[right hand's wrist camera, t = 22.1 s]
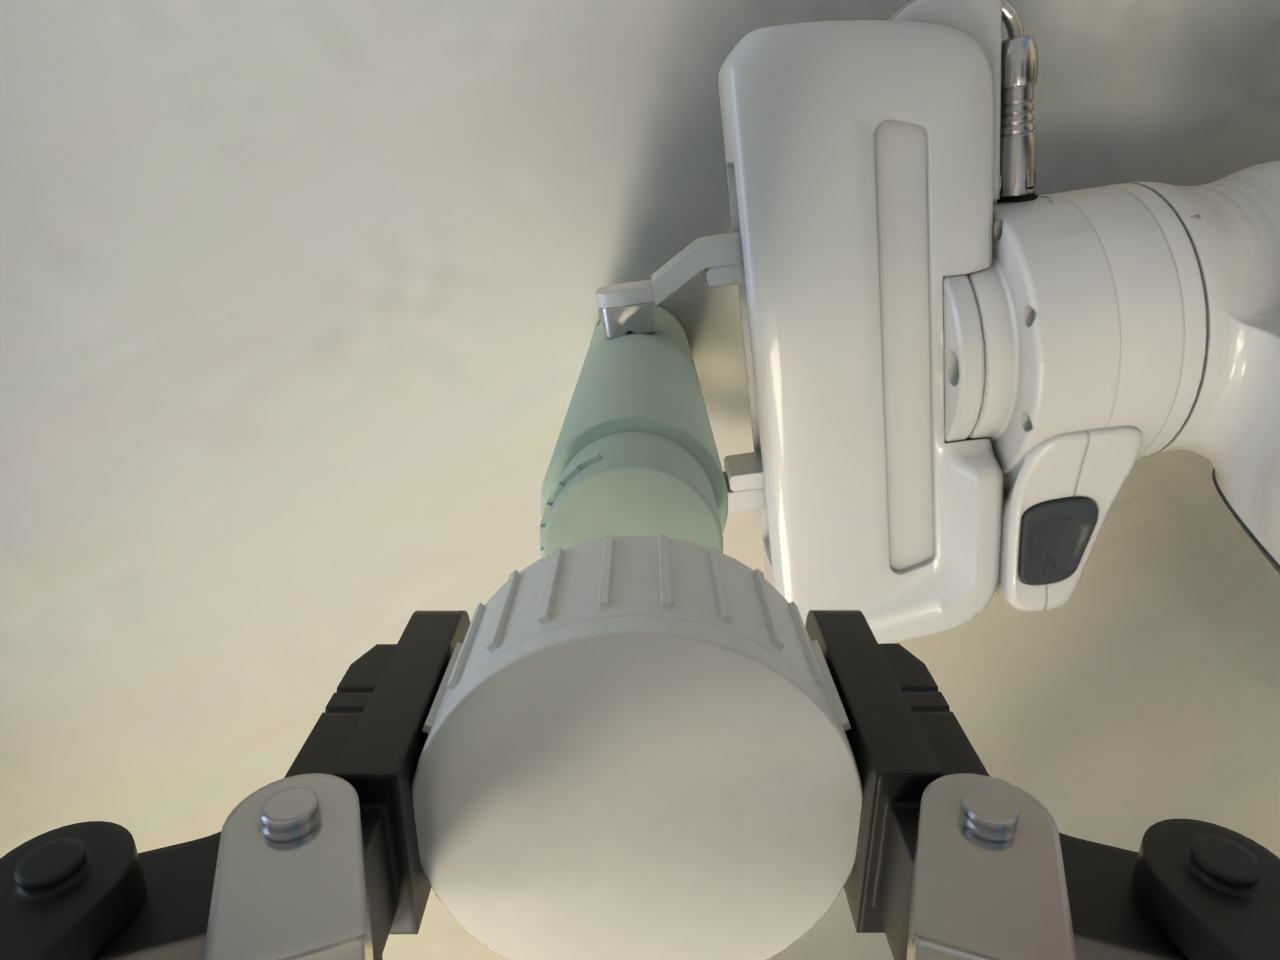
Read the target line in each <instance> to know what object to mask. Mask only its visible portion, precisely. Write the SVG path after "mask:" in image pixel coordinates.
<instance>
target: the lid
mask: <svg viewBox="0 0 1280 960" xmlns="http://www.w3.org/2000/svg"><path fill="white" fill-rule="evenodd" d="M849 729H851V726H850V723H849V721H848V718H847V715H846V713H845V710H844V708H843V705H842V702H841V700H840V697H839V694H838V692H837V689H836V687H835V684H834V681H833V679H832V676H831V674H830V671H829V668H828V666H827V663H826V661H825V658H824V655H823V653H822V650H821V647H820V645H819V642H818V640H815V641H811V639H810V637H809V635H808V633H807V631H806V628H805V625H804V623H803V620H802V617H801V614H800V612H799V609H798V606H797V605H796V604H795V602H794V601H792V602H791V603H789V602H788V601H787V600H786V599H785V598H784V597H783V596H782V595H781V594H780V593H779V592H778V591H777V590H776V589H775V587H774V586H772V585H771V584H770V583H769V582H768V581H766V580H765V578H764V575H763V572H761V571H760V570H758V569H756V570H755V571H754V570H752V569H750V568H749V567H747V566H745V565H744V564H742V563H740V562H739V561H737V560H736V559H734V558H732V557H729V556H727V555H725V554H723V553H720V552H719V549H718V548H716V547H714V546H710V548H708V547H705V546H701V545H698V544H695V543H692V542H688V541H684V540H678V539H672V538H667V535H662V534H659V535H658V536H640V535H633V536H618V537H614V536H613V535H605V538H603V539H597V540H592V541H587V542H583V543H580V544H577V545H574V546H571V547H568V548H564V549H562V547H559V548H556V549H554V551H553V554H550V555H548V556H546V557H544V558H542V559H540V560H538V561H536V562H535V563H533V564H531V565H530V566H528V567H527V568H525V569H524V570H522V571H520V572H519V573H518V572H517V571H514V572H513V573H511V574H510V576H509V579H508V582H507V583H506V584H504V585H503V586H502V587H501V588H500V589H499V590H498V591H497V592H496V593H495V594H494V595H493V596H492V598H491V599H490V600H489V601H488V602H487V603H486V604H485V605H483V604H481V603H480V604H479V605H478V607H477V608H476V610H475V613H474V615H473V618H472V621H471V623H470V626H469V629H468V631H467V634H466V636H465V639H464V642H463V644H462V643H459V642H457V644H456V646H455V649H454V651H453V654H452V656H451V659H450V661H449V664H448V666H447V669H446V671H445V674H444V676H443V679H442V681H441V684H440V686H439V689H438V691H437V694H436V697H435V699H434V702H433V704H432V707H431V709H430V712H429V714H428V717H427V719H426V722H425V724H424V727H423V730H422V731H423V732H425V733H428V737H427V740H426V742H425V744H424V747H423V750H422V752H421V755H420V757H419V761H418V764H417V768H416V771H415V775H414V778H413V782H412V796H413V806H414V815H415V823H416V831H417V840H418V848H419V856H420V862H421V867H422V869H423V872H424V874H425V877H426V878H427V880H428V882H429V884H430V885H431V887H432V889H433V891H434V892H435V894H436V896H437V897H438V899H439V900H440V901H441V902H442V904H443V905H444V906H445V908H446V909H447V910H448V911H449V913H450V914H451V915H452V916H453V917H454V918H455V919H456V920H457V921H458V922H459V923H460V924H461V925H462V926H463V927H464V928H465V929H466V930H467V931H468V932H469V933H470V934H471V935H472V936H474V937H475V938H476V939H478V940H479V941H480V942H482V943H483V944H484V945H485V946H487V947H488V948H489V949H491V950H493V951H494V952H496V953H498V954H499V955H501V956H503V957H504V958H506V959H507V960H768V959H769V958H771V957H773V956H774V955H776V954H778V953H779V952H781V951H782V950H784V949H786V948H787V947H789V946H790V945H791V944H792V943H794V942H795V941H796V940H797V939H799V938H800V937H801V936H802V935H804V934H805V933H806V932H807V931H808V930H809V929H810V928H811V927H812V926H813V925H814V924H815V923H816V922H817V921H818V920H819V919H820V918H821V917H822V916H823V915H824V914H825V913H826V911H827V910H828V909H829V907H830V906H831V905H832V903H833V902H834V901H835V899H836V898H837V897H838V895H839V894H840V892H841V890H842V888H843V887H844V885H845V883H846V881H847V879H848V877H849V876H850V874H851V871H852V868H853V866H854V863H855V857H856V849H857V841H858V832H859V824H860V815H861V806H862V783H861V777H860V774H859V771H858V768H857V764H856V761H855V758H854V755H853V752H852V750H851V747H850V744H849V741H848V739H847V736H846V733H845V731H846V730H849Z"/></svg>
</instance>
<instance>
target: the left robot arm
mask: <svg viewBox="0 0 1280 960" xmlns="http://www.w3.org/2000/svg"><path fill="white" fill-rule="evenodd" d="M1002 21H1003V22H1004V24H1005V27H1006V29H1007V33H1008V37H1009V39H1007V40H1004V41H1002ZM1037 76H1038V52H1037V45H1036V41H1035V37H1034V36H1032V35H1030V36H1024V31H1023V26H1022V23H1021V20H1020V17H1019V15H1018V13H1017V11H1016V9H1015V8H1014V7H1013V5H1012V4H1011V3H1010V2H1009V1H1008V0H909V1H907V2H905V3H904V4H903V5H901V6H900V7H899V8H897V9H896V10H895V11H894V12H893V13H892V15H891V16H890V17H889V18H888V19H887V20H833V21H817V22H804V23H793V24H783V25H775V26H769V27H763V28H759V29H756V30H754V31H751V32H750V33H748V34H746V35H745V36H744V37H743V38H742V39H741V40H740V41H739V42H738V43H737V44H736V45H735V47H734V48H733V49H732V51H731V52H730V53H729V55H728V56H727V58H726V59H725V61H724V63H723V65H722V67H721V68H720V71H719V76H718V84H719V95H720V106H721V116H722V126H723V137H724V147H725V157H726V168H727V178H728V188H729V198H730V209H731V219H732V229H733V232H731V233H725V234H718V235H712V236H705V237H699V238H697V239H695V240H694V241H693V242H692V243H691V244H689V245H688V246H687V247H686V248H684V249H683V250H682V251H681V252H679V253H678V254H677V255H676V256H674V257H673V258H672V259H671V260H669V261H668V262H667V263H666V264H664V265H663V266H662V267H661V268H659V269H658V270H657V271H656V272H654V273H653V274H652V275H651V279H647V280H641V281H634V282H627V283H620V284H613V285H608V286H604V287H601V288H598V290H597V292H596V294H597V301H598V308H599V314H600V319H601V325H602V331H603V336H604V337H605V338H616V337H620V336H624V335H625V334H626V333H627V332H629V331H631V332H633V333H635V334H645V333H652V332H657V322H656V313H655V306H657V305H658V304H660V303H661V302H662V301H664V300H665V299H666V298H668V297H669V296H670V295H671V294H673V293H674V292H675V291H677V290H678V289H679V288H681V287H682V286H683V285H684V284H686V283H687V282H688V281H690V280H691V279H692V278H694V277H695V276H696V275H697V274H699V273H700V272H701V271H703V277H704V278H705V280H706V282H707V284H708V285H709V286H711V287H718V286H726V285H734V284H738V291H739V301H740V312H741V322H742V332H743V343H744V353H745V363H746V374H747V384H748V394H749V404H750V415H751V425H752V435H753V446H754V452H751V453H744V454H738V455H731V456H726V457H725V458H724V468H725V472H723V474H724V478H725V482H726V486H727V492H728V512H729V513H731V514H734V513H742V512H750V511H758V510H760V518H761V528H762V538H763V549H764V559H765V569H766V579H767V581H768V582H769V583H770V584H771V585H772V586H774V587H775V589H776V590H777V591H778V592H779V593H780V594H781V595H782V596H783V597H784V598H785V599H786V600H787V601H788V602H789V603H791V602H792V601H794V602H795V604H796V605H797V606H798V609H799V612H800V614H801V617H802V620H803V623H804V625H805V626H806V618H807V615H808V612H809V611H810V610H860V611H861V612H862V613H863V615H864V617H865V619H866V621H867V623H868V625H869V627H870V629H871V631H872V633H873V635H874V636H875V638H876V640H877V642H878V644H888V643H894V642H899V641H905V640H910V639H914V638H919V637H924V636H928V635H932V634H936V633H940V632H944V631H947V630H950V629H953V628H955V627H958V626H960V625H962V624H964V623H966V622H968V621H970V620H971V619H973V618H974V617H975V616H977V615H978V614H979V613H980V612H981V611H982V610H983V609H984V608H985V607H986V606H987V605H988V603H989V602H990V600H991V598H992V597H993V595H994V592H995V591H996V593H997V594H998V595H1000V596H1001V597H1002V598H1003V599H1004V600H1005V601H1006V602H1007V603H1008V604H1009V605H1011V606H1012V607H1013V608H1015V609H1017V610H1020V611H1043V610H1049V609H1053V608H1056V607H1059V606H1061V605H1063V604H1064V603H1065V602H1066V601H1067V600H1068V599H1069V598H1070V597H1071V595H1072V594H1073V592H1074V590H1075V589H1076V586H1077V584H1078V582H1079V580H1080V577H1081V575H1082V572H1083V570H1084V567H1085V565H1086V562H1087V560H1088V557H1089V555H1090V552H1091V550H1092V548H1093V545H1094V543H1095V541H1096V538H1097V536H1098V534H1099V531H1100V529H1101V527H1102V525H1103V522H1104V520H1105V518H1106V516H1107V514H1108V512H1109V510H1110V508H1111V506H1112V504H1113V502H1114V500H1115V498H1116V496H1117V494H1118V492H1119V490H1120V488H1121V486H1122V485H1123V483H1124V481H1125V479H1126V478H1127V476H1128V474H1129V472H1130V471H1131V469H1132V467H1133V466H1134V464H1135V462H1136V459H1137V458H1144V457H1148V456H1152V455H1155V454H1159V453H1162V452H1167V451H1171V450H1187V451H1191V452H1194V453H1197V454H1199V455H1201V456H1203V457H1204V458H1206V459H1207V460H1208V461H1209V462H1210V463H1211V464H1212V465H1213V467H1214V469H1213V473H1212V477H1213V481H1214V484H1215V487H1216V489H1217V491H1218V493H1219V494H1220V496H1221V498H1222V499H1223V501H1224V502H1225V504H1226V505H1227V507H1228V508H1229V510H1230V511H1231V512H1232V514H1233V515H1234V517H1235V518H1236V519H1237V521H1238V522H1239V523H1240V525H1241V526H1242V528H1243V529H1244V530H1245V532H1246V533H1247V534H1248V536H1249V537H1250V538H1251V539H1252V541H1253V542H1254V543H1255V545H1256V546H1257V547H1258V548H1259V550H1260V551H1261V552H1262V553H1263V555H1264V556H1265V557H1266V558H1267V560H1268V561H1269V562H1270V563H1271V565H1272V566H1273V567H1274V568H1275V569H1276V571H1277V572H1278V573H1279V574H1280V160H1278V161H1272V162H1266V163H1262V164H1258V165H1254V166H1251V167H1248V168H1245V169H1242V170H1240V171H1237V172H1235V173H1233V174H1230V175H1228V176H1226V177H1224V178H1222V179H1219V180H1217V181H1214V182H1211V183H1207V184H1203V185H1197V186H1178V185H1171V184H1165V183H1160V182H1127V183H1122V184H1114V185H1107V186H1100V187H1094V188H1087V189H1080V190H1073V191H1066V192H1059V193H1052V194H1044V195H1035V155H1036V140H1035V132H1034V130H1035V125H1034V123H1033V120H1034V115H1033V113H1032V110H1033V103H1032V101H1033V96H1034V84H1036V82H1037ZM993 200H997V202H994V203H993ZM654 304H655V305H654Z"/></svg>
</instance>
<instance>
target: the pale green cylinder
mask: <svg viewBox="0 0 1280 960" xmlns="http://www.w3.org/2000/svg"><path fill="white" fill-rule="evenodd" d="M655 313H656V322H657V332H652V333H645V334H635V333H633V332H631V331H629V332H627V333H626V334H625V335H624V336H620V337H616V338H605V337H604V336H603V331H602V325H601V322H600V323H599V325H598V326H597V328H596V330H595V332H594V334H593V337H592V340H591V343H590V346H589V349H588V352H587V355H586V358H585V361H584V364H583V367H582V370H581V373H580V376H579V379H578V382H577V384H576V387H575V390H574V393H573V396H572V399H571V402H570V405H569V408H568V411H567V414H566V417H565V420H564V423H563V426H562V429H561V432H560V435H559V438H558V441H557V444H556V446H555V449H554V452H553V455H552V458H551V461H550V464H549V467H548V470H547V473H546V476H545V479H544V483H543V488H542V495H541V509H542V517H543V518H542V521H541V525H540V544H541V550H540V551H541V554H542V557H543V558H544V557H546V556H548V555H550V554H553V551H554V549H556V548H559V547H562V549H564V548H568V547H571V546H574V545H577V544H580V543H583V542H587V541H592V540H597V539H603V538H605V535H613V536H614V537H618V536H633V535H640V536H658V535H659V534H662V535H667V538H672V539H678V540H684V541H688V542H692V543H695V544H698V545H701V546H705V547H708V548H710V546H714V547H716V548H718V549H719V552H720V553H723V535H722V533H723V530H724V527H725V524H726V520H727V513H728V492H727V486H726V482H725V478H724V474H723V471H722V467H721V463H720V459H719V456H718V452H717V448H716V444H715V441H714V437H713V433H712V429H711V426H710V422H709V418H708V414H707V411H706V407H705V403H704V399H703V396H702V392H701V388H700V384H699V381H698V377H697V373H696V369H695V366H694V362H693V358H692V354H691V350H690V347H689V343H688V339H687V336H686V333H685V331H684V329H683V327H682V326H681V324H680V323H679V321H678V320H677V319H676V318H675V317H674V316H673V315H672V314H671V313H669V312H668V311H667V310H665V309H663V308H661V307H659V306H655Z"/></svg>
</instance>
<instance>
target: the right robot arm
mask: <svg viewBox="0 0 1280 960" xmlns="http://www.w3.org/2000/svg"><path fill="white" fill-rule="evenodd" d="M469 626H470V620H469V616H468V613H467V612H466V611H415V612H414V613H413V615H412V617H411V619H410V620H409V622H408V624H407V626H406V628H405V630H404V632H403V634H402V636H401V638H400V640H399V642H398V644H377V645H376V646H374V647H373V648H372V649H371V650H369V651H368V652H367V653H365V654H364V655H363V656H361V657H360V658H359V659H358V660H356V661H355V662H354V663H352V664H351V665H350V667H349V669H348V670H347V672H346V674H345V675H344V677H343V679H342V681H341V682H340V684H339V686H338V687H337V693H334V694H333V696H332V698H331V699H330V701H329V703H328V704H327V706H326V711H325V713H322V715H321V716H320V718H319V720H318V721H317V723H316V725H315V726H314V728H313V730H312V732H311V733H310V735H309V737H308V738H307V740H306V742H305V744H304V745H303V747H302V749H301V750H300V752H299V754H298V755H297V757H296V759H295V761H294V762H293V764H292V766H291V767H290V769H289V771H288V772H287V774H286V776H285V778H284V779H280V780H278V781H275V782H273V783H270V784H268V785H266V786H264V787H262V788H260V789H259V790H257V791H255V792H254V793H252V794H251V795H249V796H248V797H247V798H245V799H244V800H243V801H242V802H240V803H239V804H238V805H237V806H236V807H235V808H234V809H233V811H232V812H231V813H230V815H229V816H228V817H227V819H226V821H225V823H224V825H223V828H222V831H221V832H219V833H216V834H213V835H211V836H208V837H204V838H201V839H197V840H194V841H190V842H185V843H181V844H177V845H173V846H168V847H164V848H160V849H155V850H151V851H147V852H143V853H137V849H136V846H135V842H134V839H133V837H132V835H131V833H130V832H129V831H128V830H127V829H125V828H124V827H122V826H120V825H118V824H114V823H111V822H103V821H94V822H83V823H76V824H72V825H68V826H64V827H61V828H58V829H55V830H52V831H49V832H47V833H44V834H42V835H39V836H37V837H35V838H33V839H31V840H29V841H27V842H25V843H23V844H22V845H20V846H18V847H17V848H15V849H13V850H12V851H10V852H9V853H8V854H6V855H5V856H3V857H2V858H1V859H0V960H383V957H382V953H383V950H384V947H385V944H386V941H387V938H388V935H389V934H418V931H419V927H420V924H421V921H422V917H423V914H424V910H425V907H426V903H427V900H428V897H429V893H430V890H431V885H430V884H429V882H428V880H427V878H426V877H425V874H424V872H423V869H422V867H421V862H420V856H419V848H418V840H417V831H416V823H415V815H414V806H413V796H412V782H413V778H414V775H415V771H416V768H417V764H418V761H419V757H420V755H421V752H422V750H423V747H424V744H425V742H426V740H427V737H428V733H425V732H423V731H422V730H423V727H424V724H425V722H426V719H427V717H428V714H429V712H430V709H431V707H432V704H433V702H434V699H435V697H436V694H437V691H438V689H439V686H440V684H441V681H442V679H443V676H444V674H445V671H446V669H447V666H448V664H449V661H450V659H451V656H452V654H453V651H454V649H455V646H456V644H457V642H459V643H462V644H463V642H464V639H465V636H466V634H467V631H468V629H469ZM805 628H806V631H807V633H808V635H809V637H810V639H811V641H815V640H818V642H819V645H820V647H821V650H822V653H823V655H824V658H825V661H826V663H827V666H828V668H829V671H830V674H831V676H832V679H833V681H834V684H835V687H836V689H837V692H838V694H839V697H840V700H841V702H842V705H843V708H844V710H845V713H846V715H847V718H848V721H849V723H850V726H851V729H849V730H846V731H845V733H846V736H847V739H848V741H849V744H850V747H851V750H852V752H853V755H854V758H855V761H856V764H857V768H858V771H859V774H860V777H861V783H862V806H861V815H860V824H859V832H858V841H857V849H856V857H855V863H854V866H853V868H852V871H851V874H850V876H849V877H848V879H847V881H846V883H845V885H844V889H845V892H846V896H847V899H848V903H849V906H850V910H851V913H852V917H853V920H854V924H855V927H856V931H857V933H886V936H887V939H888V942H889V945H890V948H891V952H892V955H893V958H894V960H1280V859H1279V858H1278V857H1277V856H1276V855H1274V854H1273V853H1271V852H1270V851H1269V850H1267V849H1266V848H1264V847H1263V846H1261V845H1259V844H1258V843H1256V842H1255V841H1253V840H1251V839H1249V838H1247V837H1245V836H1243V835H1241V834H1239V833H1237V832H1234V831H1232V830H1229V829H1227V828H1224V827H1221V826H1218V825H1215V824H1212V823H1207V822H1203V821H1198V820H1191V819H1170V820H1164V821H1161V822H1157V823H1156V824H1154V825H1152V826H1151V827H1150V828H1149V829H1148V830H1147V831H1146V832H1145V834H1144V837H1143V840H1142V843H1141V847H1140V851H1139V853H1137V852H1133V851H1129V850H1124V849H1120V848H1116V847H1112V846H1107V845H1103V844H1099V843H1095V842H1090V841H1086V840H1082V839H1078V838H1074V837H1071V836H1067V835H1064V834H1062V833H1059V832H1058V828H1057V825H1056V823H1055V821H1054V819H1053V817H1052V816H1051V815H1050V813H1049V812H1048V811H1047V809H1046V808H1045V807H1044V806H1043V805H1042V804H1041V803H1040V802H1038V801H1037V800H1036V799H1035V798H1033V797H1032V796H1031V795H1029V794H1028V793H1026V792H1025V791H1023V790H1021V789H1020V788H1018V787H1016V786H1014V785H1012V784H1010V783H1007V782H1005V781H1002V780H1000V779H996V778H993V777H990V776H989V774H988V773H987V771H986V769H985V767H984V766H983V764H982V762H981V761H980V759H979V757H978V755H977V754H976V752H975V750H974V748H973V747H972V745H971V743H970V742H969V740H968V738H967V736H966V735H965V733H964V731H963V729H962V728H961V726H960V724H959V723H958V721H957V719H956V717H955V716H954V714H953V712H950V711H949V705H948V704H947V702H946V700H945V698H944V697H943V695H942V693H941V692H938V686H937V685H936V683H935V681H934V679H933V678H932V676H931V674H930V672H929V671H928V669H927V667H926V666H925V664H924V663H923V662H922V661H920V660H919V659H918V658H916V657H915V656H914V655H912V654H911V653H910V652H909V651H907V650H906V649H905V648H903V647H902V646H901V645H900V644H878V642H877V640H876V638H875V636H874V635H873V633H872V631H871V629H870V627H869V625H868V623H867V621H866V619H865V617H864V615H863V613H862V612H861V611H860V610H810V611H809V612H808V615H807V618H806V626H805Z"/></svg>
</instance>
